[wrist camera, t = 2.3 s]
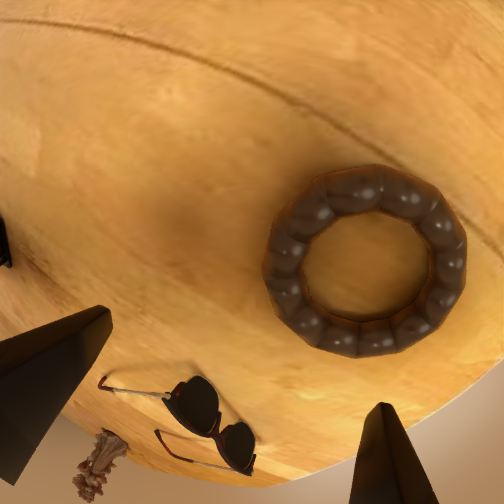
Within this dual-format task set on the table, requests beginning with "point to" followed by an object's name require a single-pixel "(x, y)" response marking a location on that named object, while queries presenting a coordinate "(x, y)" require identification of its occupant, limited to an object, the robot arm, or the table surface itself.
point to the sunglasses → (205, 422)
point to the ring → (350, 205)
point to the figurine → (98, 465)
